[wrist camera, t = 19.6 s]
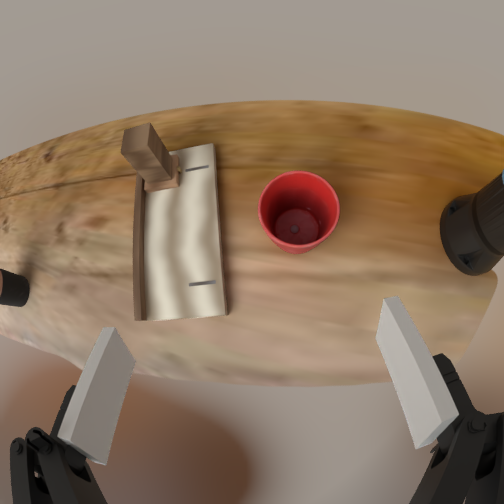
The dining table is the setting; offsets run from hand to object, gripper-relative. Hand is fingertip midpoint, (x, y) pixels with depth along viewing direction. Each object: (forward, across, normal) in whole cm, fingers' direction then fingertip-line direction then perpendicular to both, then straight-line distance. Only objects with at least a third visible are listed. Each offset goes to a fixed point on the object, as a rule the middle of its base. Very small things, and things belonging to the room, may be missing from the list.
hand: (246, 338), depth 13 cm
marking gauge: (+39, -15, 0) cm, 42 cm away
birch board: (+34, -13, -8) cm, 37 cm away
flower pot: (+31, +6, -11) cm, 34 cm away
